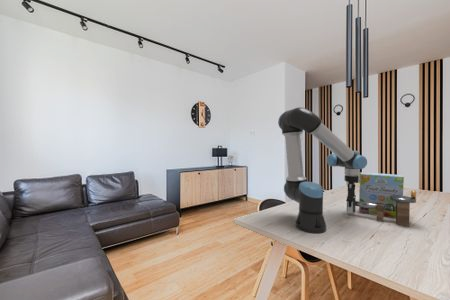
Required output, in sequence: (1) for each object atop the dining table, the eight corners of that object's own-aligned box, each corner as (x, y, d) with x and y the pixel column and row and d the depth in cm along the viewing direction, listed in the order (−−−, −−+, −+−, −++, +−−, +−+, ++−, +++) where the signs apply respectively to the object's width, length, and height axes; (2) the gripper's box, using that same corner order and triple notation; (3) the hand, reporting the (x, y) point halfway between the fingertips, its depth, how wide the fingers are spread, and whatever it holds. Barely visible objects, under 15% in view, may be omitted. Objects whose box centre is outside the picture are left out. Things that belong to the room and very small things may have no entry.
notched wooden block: (409, 227, 109) (409, 203, 109) (376, 221, 118) (377, 198, 117) (407, 222, 116) (407, 199, 116) (376, 216, 125) (376, 195, 124)
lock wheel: (412, 199, 116) (412, 189, 116) (419, 204, 107) (419, 193, 106) (388, 196, 122) (388, 187, 121) (392, 201, 112) (392, 191, 112)
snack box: (359, 213, 132) (359, 173, 131) (358, 209, 139) (359, 172, 138) (403, 219, 120) (404, 176, 120) (400, 215, 128) (401, 174, 127)
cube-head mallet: (395, 219, 115) (395, 203, 114) (346, 211, 129) (346, 197, 128) (395, 217, 118) (395, 202, 117) (347, 210, 132) (347, 196, 131)
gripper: (357, 178, 116) (356, 215, 117) (359, 173, 136) (359, 205, 136) (342, 177, 121) (341, 213, 121) (346, 172, 140) (346, 203, 141)
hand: (351, 209), depth 129 cm, fingers open, 12 cm apart
